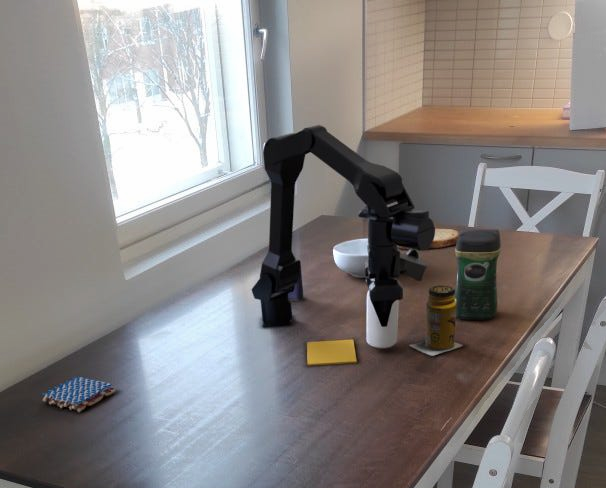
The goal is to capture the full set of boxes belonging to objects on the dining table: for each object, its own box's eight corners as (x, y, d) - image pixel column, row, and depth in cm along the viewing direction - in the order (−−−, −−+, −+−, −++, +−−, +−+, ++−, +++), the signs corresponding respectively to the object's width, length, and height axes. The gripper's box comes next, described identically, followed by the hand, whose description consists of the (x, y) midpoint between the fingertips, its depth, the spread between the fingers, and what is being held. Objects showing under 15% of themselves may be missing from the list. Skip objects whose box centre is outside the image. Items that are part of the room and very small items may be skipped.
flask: (266, 299, 200) (262, 255, 194) (270, 295, 202) (267, 252, 196) (301, 301, 197) (298, 256, 191) (305, 297, 200) (302, 253, 193)
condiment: (463, 346, 168) (466, 288, 161) (432, 356, 164) (433, 298, 157) (439, 336, 173) (441, 280, 166) (409, 346, 169) (409, 290, 162)
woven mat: (80, 414, 152) (77, 404, 151) (41, 403, 157) (38, 394, 156) (117, 392, 159) (115, 382, 158) (79, 383, 164) (77, 374, 163)
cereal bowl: (409, 267, 214) (409, 240, 210) (379, 286, 203) (379, 258, 198) (353, 261, 222) (353, 234, 218) (322, 279, 211) (320, 251, 207)
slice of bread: (466, 239, 232) (467, 226, 230) (429, 255, 222) (429, 241, 219) (416, 231, 242) (416, 218, 240) (378, 246, 232) (378, 233, 230)
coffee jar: (497, 309, 184) (504, 225, 173) (494, 322, 178) (501, 235, 167) (455, 308, 186) (458, 225, 176) (450, 320, 180) (454, 234, 169)
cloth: (307, 365, 164) (307, 364, 164) (307, 343, 174) (307, 342, 174) (356, 362, 164) (356, 361, 164) (353, 341, 174) (353, 339, 174)
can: (364, 336, 171) (364, 281, 163) (394, 333, 171) (396, 279, 163) (368, 350, 166) (369, 295, 158) (399, 348, 166) (401, 292, 158)
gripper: (430, 253, 148) (428, 335, 157) (418, 227, 164) (416, 303, 173) (370, 257, 149) (371, 338, 158) (363, 231, 164) (364, 306, 173)
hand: (382, 320), depth 165 cm, fingers closed on can, 6 cm apart
